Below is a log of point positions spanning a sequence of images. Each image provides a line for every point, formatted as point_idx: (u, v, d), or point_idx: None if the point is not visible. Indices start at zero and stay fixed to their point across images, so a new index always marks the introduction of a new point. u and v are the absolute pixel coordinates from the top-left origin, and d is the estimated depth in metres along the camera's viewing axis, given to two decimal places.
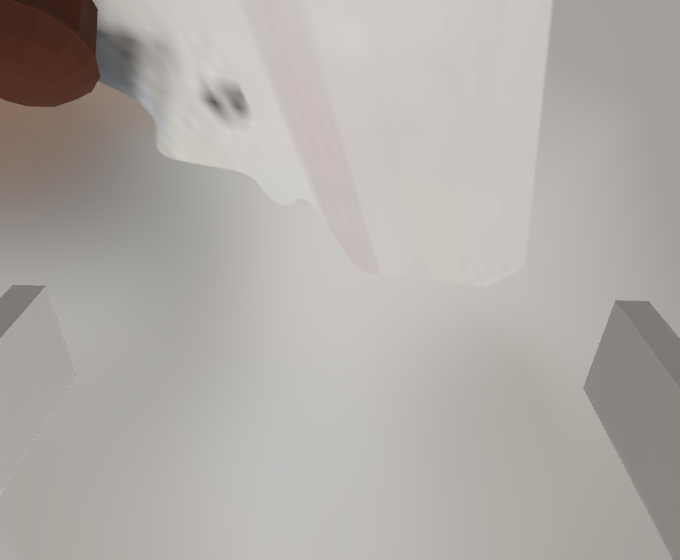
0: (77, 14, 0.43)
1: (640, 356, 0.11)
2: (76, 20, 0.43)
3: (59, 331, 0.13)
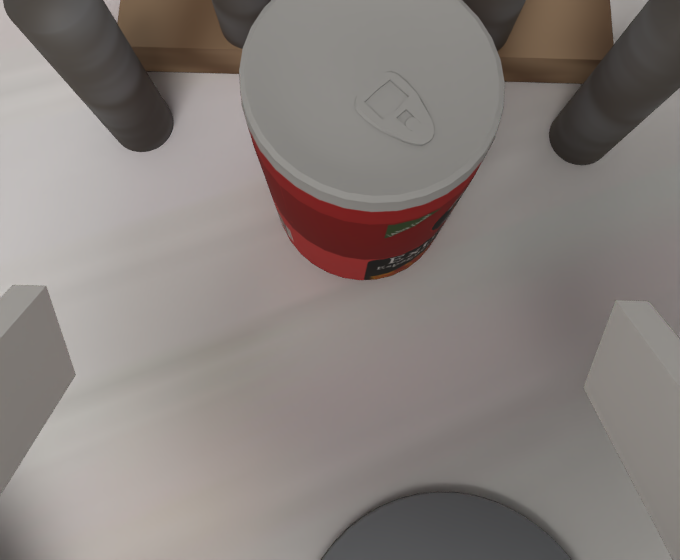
0: None
1: (640, 356, 0.11)
2: None
3: (59, 332, 0.13)
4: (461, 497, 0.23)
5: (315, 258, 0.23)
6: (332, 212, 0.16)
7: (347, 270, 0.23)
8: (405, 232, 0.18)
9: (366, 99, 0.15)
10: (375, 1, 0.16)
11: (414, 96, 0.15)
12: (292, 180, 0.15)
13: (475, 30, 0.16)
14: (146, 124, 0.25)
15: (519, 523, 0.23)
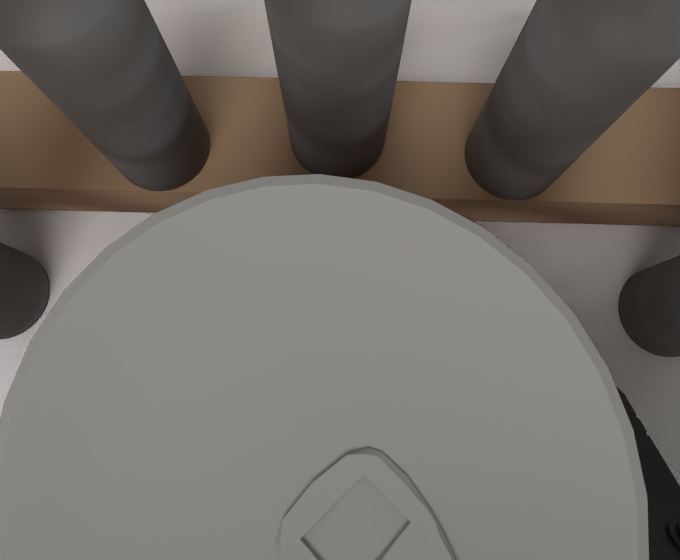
0: None
1: None
2: None
3: None
4: None
5: None
6: None
7: None
8: None
9: (306, 531, 0.06)
10: (331, 263, 0.07)
11: (424, 520, 0.06)
12: None
13: (568, 349, 0.07)
14: None
15: None
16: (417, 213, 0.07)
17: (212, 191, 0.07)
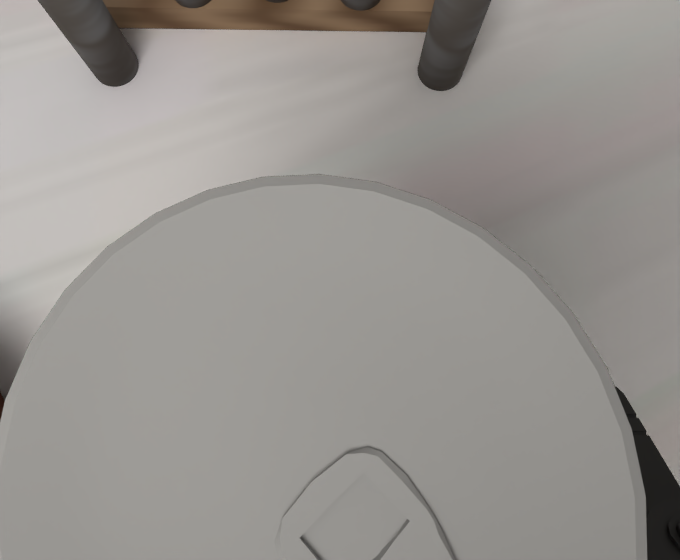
0: None
1: None
2: None
3: None
4: None
5: None
6: None
7: None
8: None
9: (304, 530, 0.06)
10: (330, 262, 0.07)
11: (422, 519, 0.06)
12: None
13: (567, 348, 0.07)
14: (117, 62, 0.34)
15: None
16: (416, 213, 0.07)
17: (212, 191, 0.07)
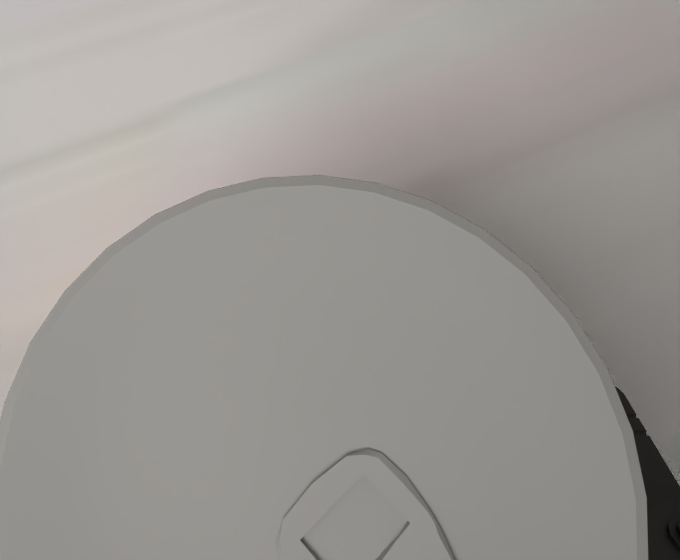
0: None
1: None
2: None
3: None
4: None
5: None
6: None
7: None
8: None
9: (305, 532, 0.06)
10: (331, 264, 0.07)
11: (423, 521, 0.06)
12: None
13: (568, 350, 0.07)
14: None
15: None
16: (417, 214, 0.07)
17: (212, 192, 0.07)
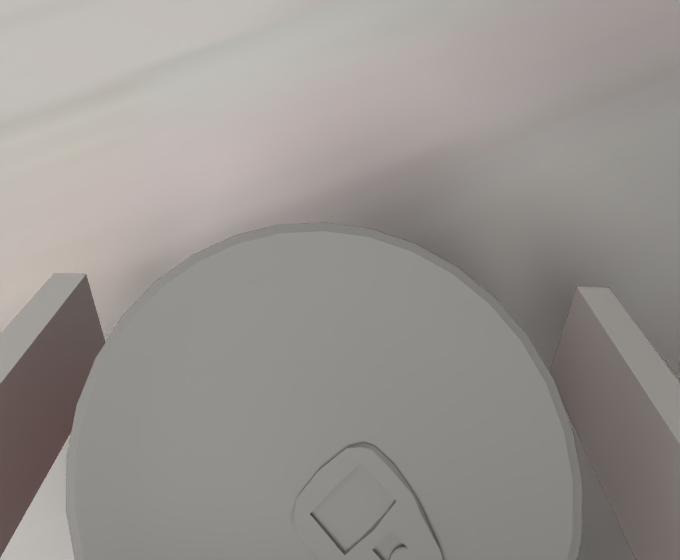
0: None
1: (597, 339, 0.11)
2: None
3: (96, 319, 0.13)
4: None
5: None
6: None
7: None
8: None
9: (314, 508, 0.08)
10: (334, 294, 0.09)
11: (407, 500, 0.08)
12: None
13: (522, 364, 0.08)
14: None
15: None
16: (403, 255, 0.09)
17: (239, 237, 0.09)
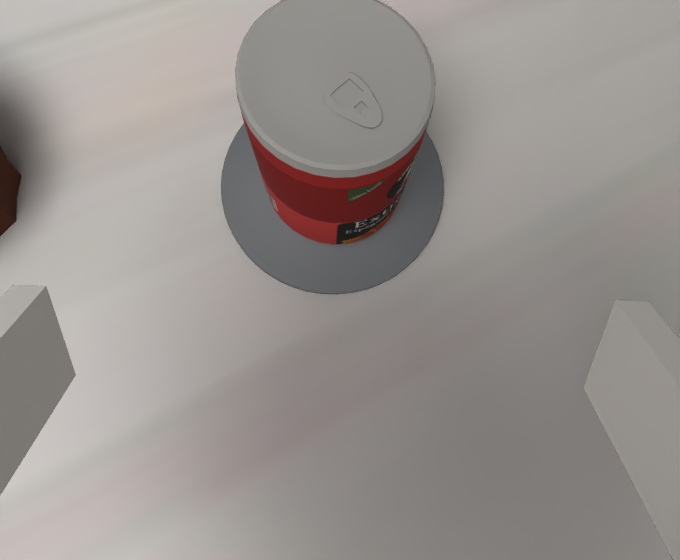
0: None
1: (640, 356, 0.11)
2: None
3: (59, 332, 0.13)
4: None
5: (295, 224, 0.28)
6: (306, 179, 0.21)
7: (322, 234, 0.28)
8: (363, 197, 0.23)
9: (331, 92, 0.20)
10: (339, 18, 0.21)
11: (367, 91, 0.20)
12: (275, 153, 0.20)
13: (414, 42, 0.21)
14: None
15: None
16: (368, 1, 0.21)
17: None
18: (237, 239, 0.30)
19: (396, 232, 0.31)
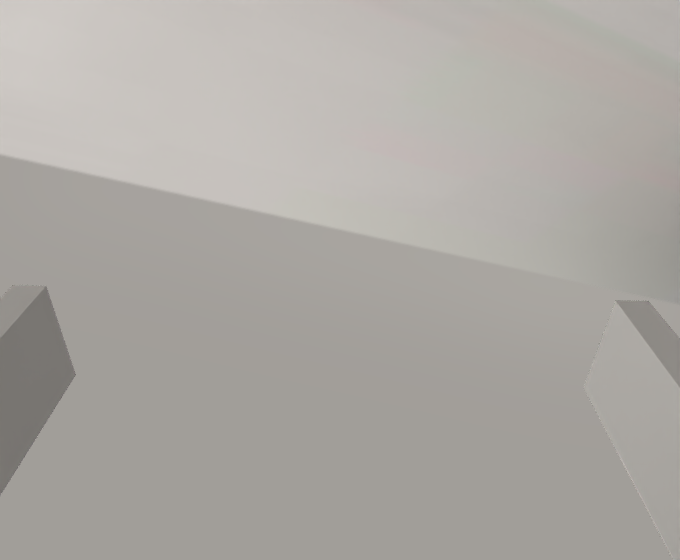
0: None
1: (640, 356, 0.11)
2: None
3: (59, 331, 0.13)
4: None
5: None
6: None
7: None
8: None
9: None
10: None
11: None
12: None
13: None
14: None
15: None
16: None
17: None
18: None
19: None
